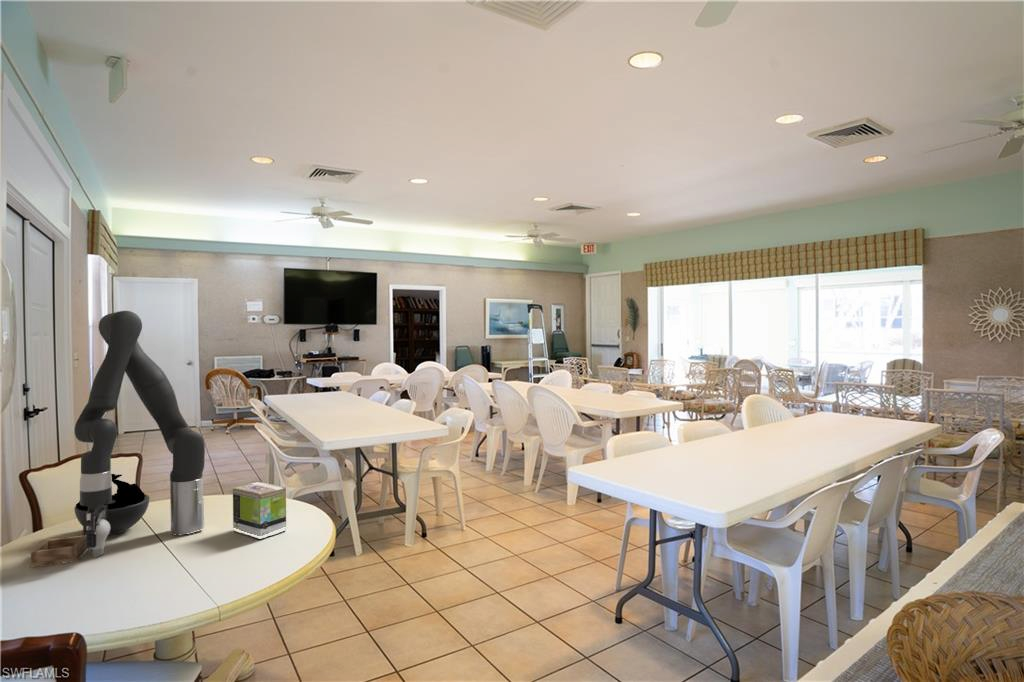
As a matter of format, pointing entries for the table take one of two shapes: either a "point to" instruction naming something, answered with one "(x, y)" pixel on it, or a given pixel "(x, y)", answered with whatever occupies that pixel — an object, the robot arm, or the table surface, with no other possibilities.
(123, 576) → the table surface
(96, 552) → the lightbulb
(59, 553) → the wooden tray
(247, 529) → the tea box
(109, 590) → the table surface
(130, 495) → the coal bowl
